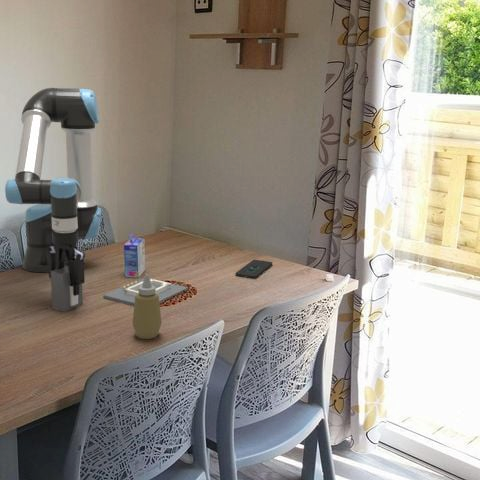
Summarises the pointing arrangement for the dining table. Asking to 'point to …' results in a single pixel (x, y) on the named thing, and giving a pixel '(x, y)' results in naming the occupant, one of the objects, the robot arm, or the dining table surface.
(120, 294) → the socket board
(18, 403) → the dining table surface
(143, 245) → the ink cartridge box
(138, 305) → the squeeze bottle
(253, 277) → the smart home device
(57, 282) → the keyed plug
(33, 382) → the dining table surface
